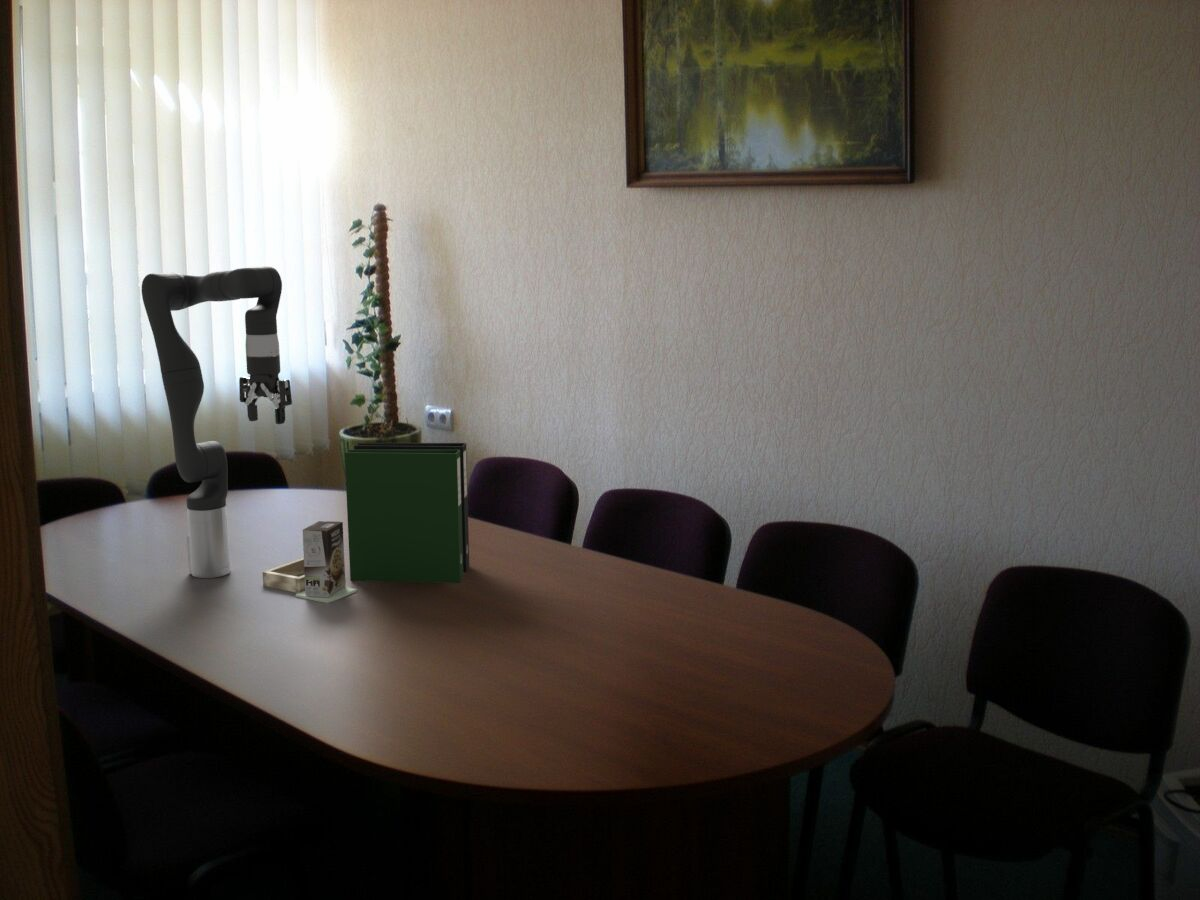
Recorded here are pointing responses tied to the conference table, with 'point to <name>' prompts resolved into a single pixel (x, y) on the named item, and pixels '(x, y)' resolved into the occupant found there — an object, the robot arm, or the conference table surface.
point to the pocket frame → (286, 577)
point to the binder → (407, 512)
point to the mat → (338, 595)
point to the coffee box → (324, 559)
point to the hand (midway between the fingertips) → (266, 422)
